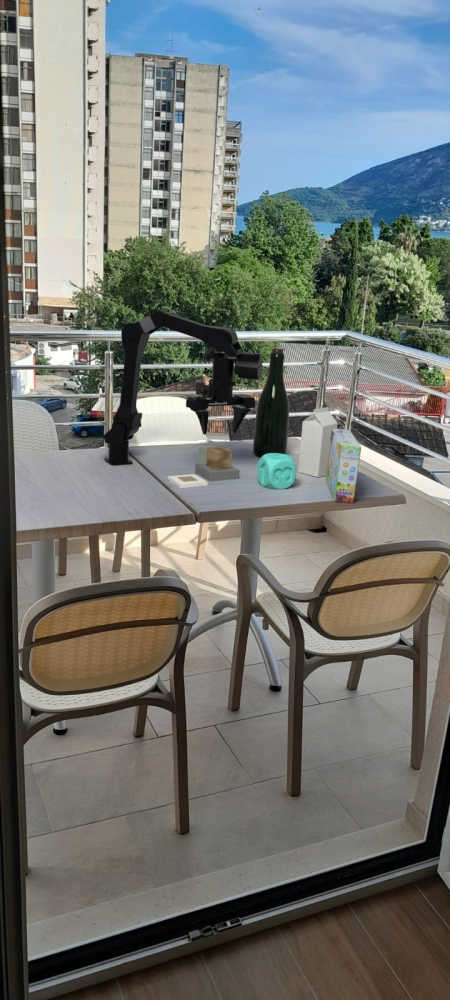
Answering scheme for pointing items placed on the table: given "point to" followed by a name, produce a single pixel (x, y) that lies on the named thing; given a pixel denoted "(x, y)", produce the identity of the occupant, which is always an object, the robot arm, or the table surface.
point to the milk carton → (316, 442)
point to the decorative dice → (276, 471)
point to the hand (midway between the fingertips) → (219, 433)
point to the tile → (187, 481)
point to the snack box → (343, 465)
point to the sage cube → (204, 453)
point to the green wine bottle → (272, 411)
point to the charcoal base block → (216, 473)
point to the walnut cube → (219, 458)
